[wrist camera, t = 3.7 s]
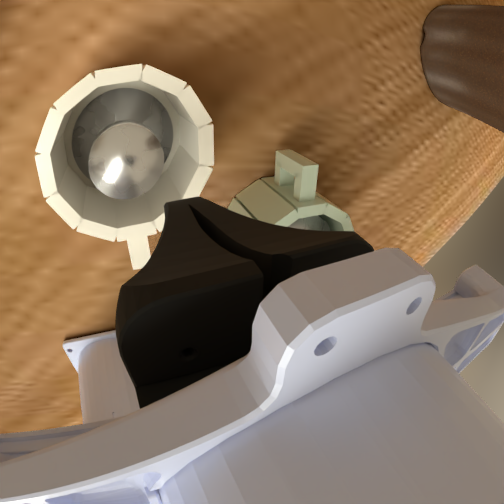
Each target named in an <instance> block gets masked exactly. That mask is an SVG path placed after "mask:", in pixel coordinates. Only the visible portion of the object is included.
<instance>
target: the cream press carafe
mask: <svg viewBox="0 0 504 504" xmlns="http://www.w3.org/2000/svg"><path fill="white" fill-rule="evenodd" d="M186 84H187V82H185V81H182V80H180V79H178V78H176V77H174V76H172V75H170V74H167V73H165V72H163V71H161V70H158V69H156V68H154V67H152V66H149V65H147V64H145V65H142V64H135V65H128V66H121V67H114V68H108V69H102V70H96V71H95V72H94V73H90V74H88V75H87V76H86V77H84V78H83V79H82V80H81V81H79V82H78V83H77V84H76V85H75V86H73V87H72V88H71V89H70V90H69V91H67V92H66V93H65V94H64V95H63V96H62V97H60V98H59V99H58V100H57V101H56V102H55V103H54V104H53V105H54V106H52V107H51V108H50V110H49V113H48V115H47V118H46V121H45V124H44V126H43V129H42V132H41V135H40V138H39V141H38V144H37V147H36V150H35V152H37V154H36V155H35V160H36V165H37V170H38V175H39V179H40V184H41V188H42V192H43V196H44V197H47V199H46V202H47V203H48V204H49V205H50V206H51V207H52V208H53V209H54V210H55V211H56V212H57V213H58V214H59V216H60V217H61V218H62V219H63V220H64V221H65V222H66V223H67V224H68V225H69V226H70V227H71V228H72V229H74V228H76V227H77V232H80V233H84V234H88V235H91V236H95V237H98V238H102V239H105V240H109V241H113V242H114V241H115V238H116V236H117V241H118V242H120V241H125V240H127V243H128V248H129V253H130V258H131V262H132V267H133V270H136V269H140V268H143V267H144V266H145V264H146V263H147V262H148V260H149V259H150V257H151V256H150V250H149V244H148V238H147V236H149V235H153V234H157V233H156V228H157V230H158V231H159V232H161V231H162V230H163V227H164V222H165V213H164V205H165V203H166V202H171V201H176V200H181V199H187V198H192V197H199V195H200V193H201V191H202V189H203V187H204V186H205V184H206V182H207V180H208V178H209V176H210V174H211V172H212V170H213V168H212V167H211V166H212V165H214V126H213V124H212V123H210V122H211V121H212V119H211V118H210V116H209V114H208V113H207V111H206V110H205V108H204V106H203V105H202V103H201V102H200V100H199V99H198V97H197V95H196V94H195V92H194V91H193V89H192V88H191V86H190V85H186ZM117 88H134V89H139V90H142V91H145V92H147V93H149V94H151V95H152V96H154V97H155V98H156V99H157V100H159V101H160V102H161V103H162V105H163V106H164V107H165V108H166V110H167V112H168V114H169V116H170V118H171V122H172V126H173V143H172V147H171V151H170V153H169V156H168V158H167V160H166V162H165V163H164V167H163V170H162V173H161V176H160V178H159V179H158V181H157V182H156V184H155V185H154V186H153V187H152V188H151V189H150V190H149V191H147V192H146V193H144V194H142V195H141V196H138V197H136V198H132V199H115V198H111V197H109V196H107V195H105V194H103V193H102V192H101V191H99V190H98V189H97V188H96V186H95V185H94V184H93V182H92V181H91V180H90V179H88V178H87V177H86V176H85V175H84V174H83V173H82V171H81V170H80V169H79V167H78V165H77V164H76V162H75V159H74V156H73V152H72V133H73V129H74V126H75V123H76V121H77V119H78V117H79V115H80V114H81V112H82V111H83V109H84V108H85V107H86V106H87V105H88V104H89V103H90V102H91V101H92V100H93V99H94V98H96V97H97V96H99V95H101V94H103V93H104V92H107V91H110V90H113V89H117Z"/></svg>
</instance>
